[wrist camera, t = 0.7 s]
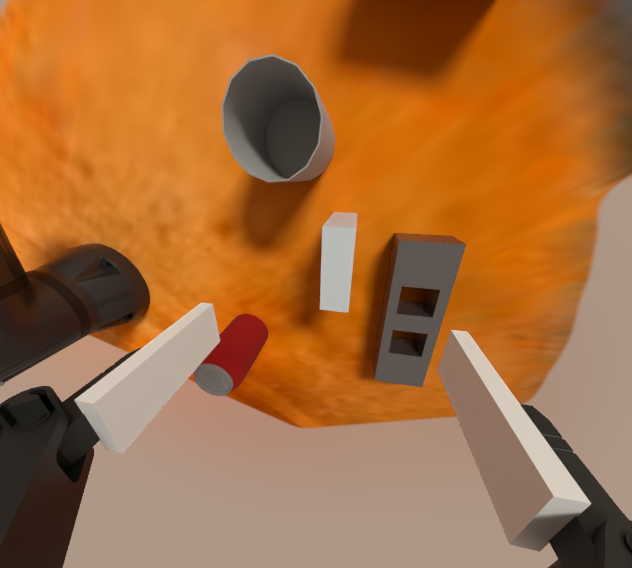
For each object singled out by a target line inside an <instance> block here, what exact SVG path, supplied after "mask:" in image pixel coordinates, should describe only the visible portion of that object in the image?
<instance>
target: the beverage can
mask: <svg viewBox="0 0 632 568" xmlns="http://www.w3.org/2000/svg"><path fill="white" fill-rule="evenodd" d="M219 337H220V342H219V343H218V344H217V345H216V347H215V348H214V349H213V350H212V351H211V352H210V354H209V355H208V356H207V357H206V358H205V359H204V360H203V362H202V363H201V364H200V365H199V366H198V367H197V369H196V370H195V372H194V379H195V381H196V383H197V384H198V386H199V387H201V389H203V390H204V391H206V392H207V393H210V394H212V395H216V396H223V395H226V394H228V393H229V392H230V391H231V390H233V389H235V388H237V387H238V386H239V385H240V384H241V383H242V381H243V379H244V378H245V376H246V374H247V373H248V371H249V369H250V368H251V366H252V364H253V362H254V361H255V359H256V357H257V356H258V354H259V352H260V350H261V349H262V347H263V345H264V343H265V342H266V340H267V337H268V330H267V328H266V326H265V324H264V323H263V322H262V321H261V320H260V319H259V318H257V317H255V316H253V315H249V314H243V315H239V316H237V317H236V318H235V319H234V320H233V321H232V322H231V323H230V324H229V325H228V326H227V327H226V329H225V330H224V331H223V332H222V333H221V334H220V335H219Z"/></svg>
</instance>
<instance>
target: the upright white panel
mask: <svg viewBox="0 0 632 568" xmlns="http://www.w3.org/2000/svg"><path fill="white" fill-rule="evenodd" d="M356 225H357V213H344V212H334V213H333V214H332V215H331V217H330V218H329V219H328V220H327V222H326V223H325V224H324V225H323V226H322V252H321V285H320V310H329V311H338V312H348V311H349V301H350V290H351V279H352V269H353V258H354V247H355V237H356Z"/></svg>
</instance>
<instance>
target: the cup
mask: <svg viewBox="0 0 632 568" xmlns="http://www.w3.org/2000/svg"><path fill="white" fill-rule="evenodd" d="M222 121H223V134H224V136H225V139H226V141H227V144H228V146H229V149H230V151H231V154H232V156H233V158H234V159H235V160H236V161H237V162H238V163H239V164H240V165H241V166H242V167H243V168H244V169H245V171H246V172H247V173H248V174H249V175H252V176H254V177H257V178H259V179H262V180H264V181H266V182H301V181H311V180H313V179H314V178H316V177H317V176H319V175H320V174H322V173H323V172H324V171H325V169H326V168H327V166H328V164H329V163H330V161H331V159H332V157H333V152H334V145H335V135H334V131H333V127H332V123H331V120H330V117H329V115H328V113H327V111H326V109H325V107H324V105H323V103H322V101H321V99H320V96H319V94H318V92H317V90H316V88H315V86H314V85H313V84H312V82H311V81H310V80H309V79H308V77H307V76H306V75H305V74H304V72H303V71H302V70H301V68H300V67H299V66H298V65H297V64H296V63H294V62H291V61H289V60H286V59H284V58H281V57H279V56H276V55H274V54H270V55H266V56H262V57H257V58H253V59H249V60H248V61H247V62H246V63H245V64H244V65H243V66H242V67H241V68H240V69H239V70H238V71H237V72H236V73H235V74H234V75H233V76H232V77H231V78H230V81H229V84H228V87H227V90H226V93H225V96H224V99H223V102H222Z"/></svg>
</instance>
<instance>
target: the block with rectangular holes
mask: <svg viewBox="0 0 632 568" xmlns="http://www.w3.org/2000/svg"><path fill="white" fill-rule="evenodd" d="M465 246H466V244H465V243H463V242H461V241H460V240H458V239H456V238H455V237H453V236H439V235H421V234H402V233H394V239H393V245H392V251H391V257H390V263H389V269H388V275H387V281H386V287H385V293H384V299H383V305H382V311H381V317H380V323H379V329H378V335H377V341H376V347H375V353H374V359H373V366H374V380H377V381H384V382H391V383H397V384H404V385H410V386H417V387H422V386H423V382H424V379H425V376H426V373H427V369H428V366H429V363H430V360H431V356H432V353H433V350H434V347H435V343H436V340H437V337H438V334H439V330H440V327H441V324H442V321H443V317H444V314H445V311H446V308H447V304H448V301H449V298H450V295H451V291H452V288H453V285H454V282H455V278H456V275H457V272H458V269H459V265H460V262H461V259H462V256H463V252H464V249H465ZM402 286H403V287H414V288H425V289H428V291H427V295H426V299H425V303H424V302H414V301H404V300H399V298H400V293H401V288H402ZM393 330H397V331H406V332H414V333H417V334H416V338H415V339H410V338H402V337H393V336H392V333H393Z"/></svg>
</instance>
